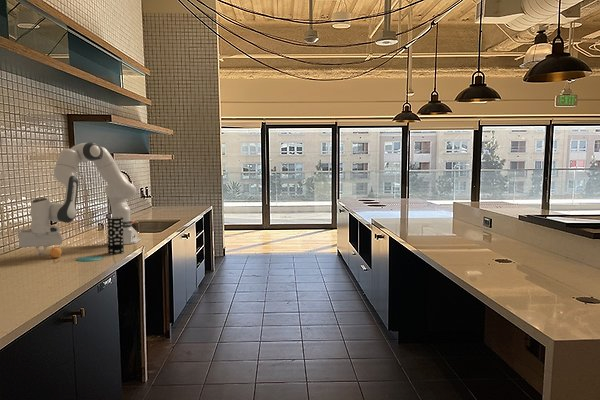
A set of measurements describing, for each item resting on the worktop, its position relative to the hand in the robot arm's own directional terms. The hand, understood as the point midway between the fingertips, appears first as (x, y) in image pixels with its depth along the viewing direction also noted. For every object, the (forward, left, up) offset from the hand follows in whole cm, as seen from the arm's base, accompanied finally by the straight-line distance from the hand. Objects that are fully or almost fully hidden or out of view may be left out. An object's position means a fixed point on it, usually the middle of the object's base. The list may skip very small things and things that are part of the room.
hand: (41, 254), depth 238 cm
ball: (0, +8, +1) cm, 8 cm away
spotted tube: (-18, +32, -2) cm, 37 cm away
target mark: (0, +27, -2) cm, 27 cm away
